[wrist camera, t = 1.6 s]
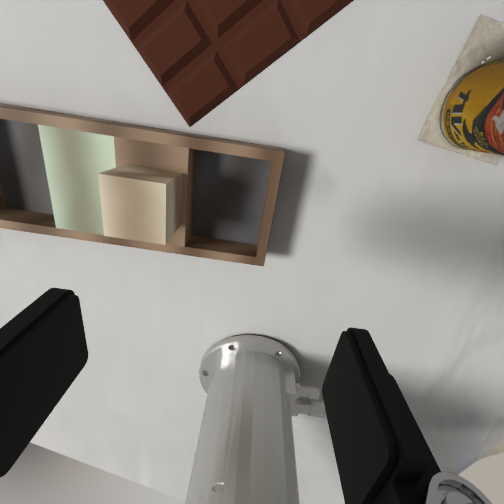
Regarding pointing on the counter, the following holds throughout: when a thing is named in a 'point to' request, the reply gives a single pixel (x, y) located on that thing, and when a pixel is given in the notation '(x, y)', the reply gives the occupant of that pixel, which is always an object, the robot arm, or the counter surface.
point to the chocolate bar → (215, 42)
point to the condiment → (472, 98)
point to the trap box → (143, 155)
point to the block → (140, 203)
